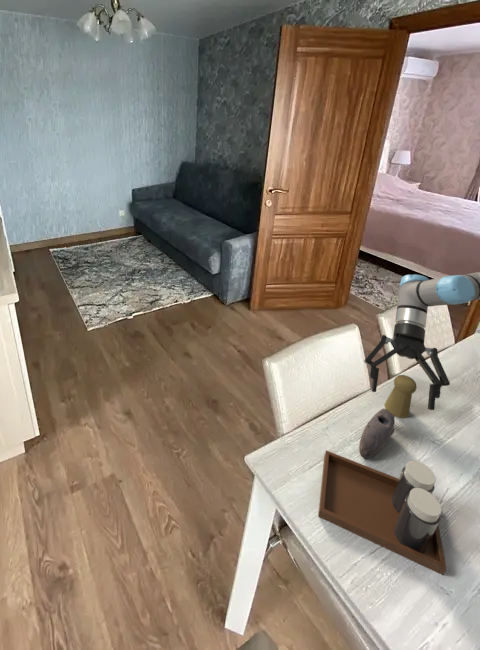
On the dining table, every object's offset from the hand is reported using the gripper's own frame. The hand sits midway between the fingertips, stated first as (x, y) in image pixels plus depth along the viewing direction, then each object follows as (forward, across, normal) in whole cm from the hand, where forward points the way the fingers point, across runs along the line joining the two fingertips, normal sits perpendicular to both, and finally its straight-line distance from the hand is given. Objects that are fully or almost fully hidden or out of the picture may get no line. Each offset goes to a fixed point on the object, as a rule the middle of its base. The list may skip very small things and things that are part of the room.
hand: (401, 400), depth 95 cm
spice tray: (+25, +6, +18) cm, 32 cm away
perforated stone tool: (+13, +6, +6) cm, 16 cm away
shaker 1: (+23, 0, +16) cm, 28 cm away
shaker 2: (+27, 0, +21) cm, 34 cm away
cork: (+2, 0, -5) cm, 5 cm away
